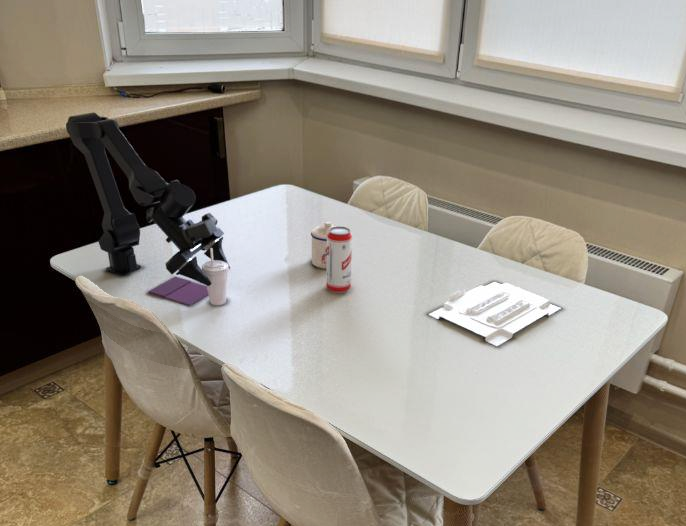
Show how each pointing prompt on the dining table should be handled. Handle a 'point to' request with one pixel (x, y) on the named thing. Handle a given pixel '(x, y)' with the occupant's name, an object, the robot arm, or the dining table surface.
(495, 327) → the tray
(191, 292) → the dish cloth
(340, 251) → the beer can
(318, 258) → the teacup with lid
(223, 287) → the smoothie
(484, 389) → the dining table surface
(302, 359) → the dining table surface
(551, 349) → the dining table surface
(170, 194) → the robot arm
